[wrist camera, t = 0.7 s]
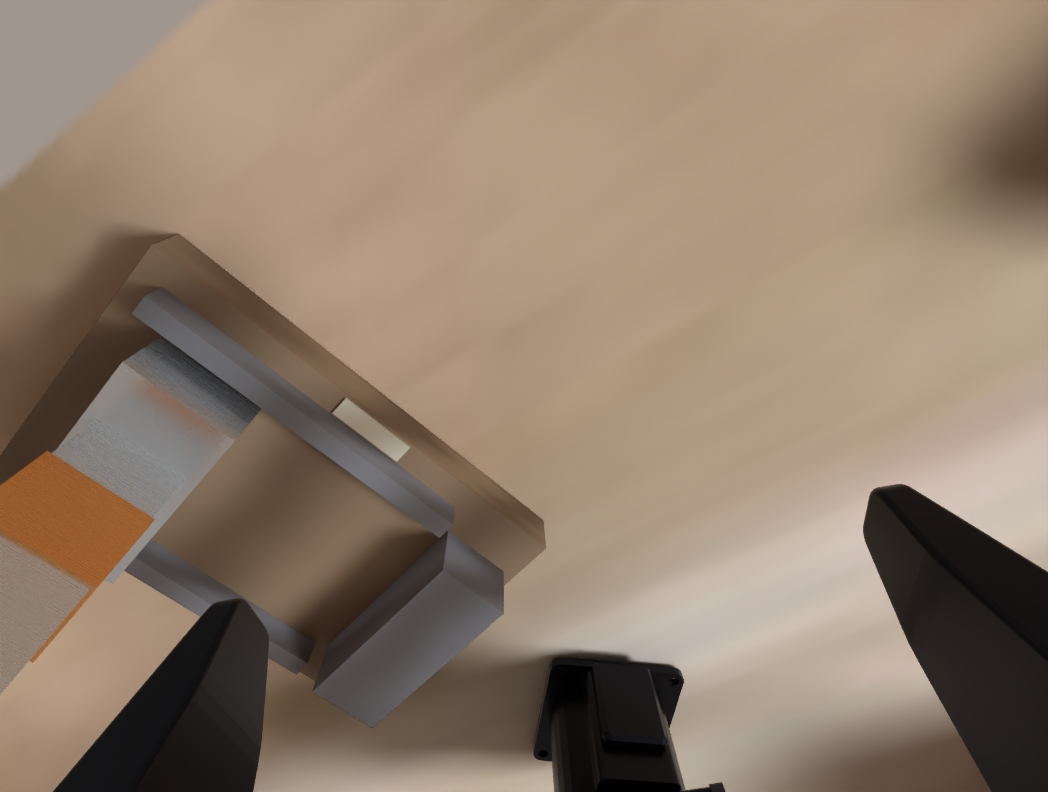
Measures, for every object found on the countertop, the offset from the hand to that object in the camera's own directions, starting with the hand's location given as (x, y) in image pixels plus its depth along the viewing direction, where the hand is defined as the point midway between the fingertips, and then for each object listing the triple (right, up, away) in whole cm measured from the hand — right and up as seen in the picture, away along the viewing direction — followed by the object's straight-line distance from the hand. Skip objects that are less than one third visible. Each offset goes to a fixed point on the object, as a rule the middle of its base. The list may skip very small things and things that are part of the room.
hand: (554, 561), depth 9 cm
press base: (-10, -2, +18) cm, 21 cm away
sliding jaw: (-14, +1, +15) cm, 20 cm away
